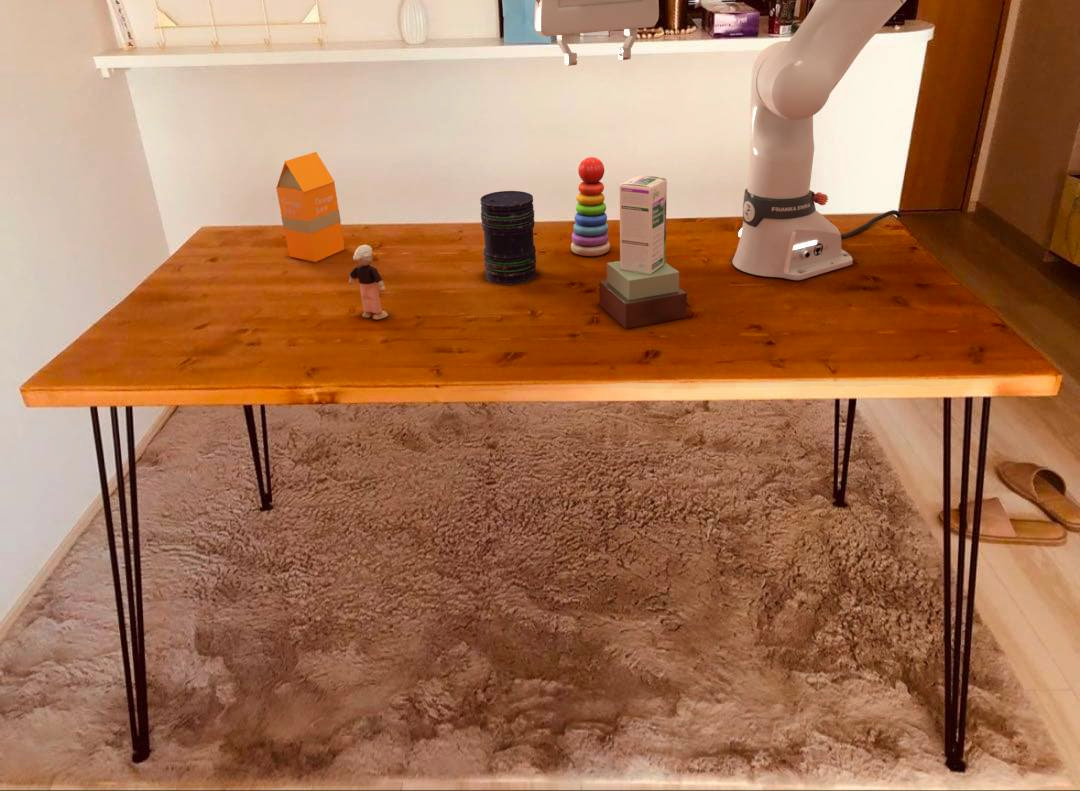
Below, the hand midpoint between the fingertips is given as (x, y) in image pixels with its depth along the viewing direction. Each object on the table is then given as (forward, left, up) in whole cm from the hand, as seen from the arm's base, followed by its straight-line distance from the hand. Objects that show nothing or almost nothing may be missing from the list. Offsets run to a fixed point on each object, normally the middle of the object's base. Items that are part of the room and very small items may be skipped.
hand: (598, 62), depth 137 cm
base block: (-2, +14, -39) cm, 41 cm away
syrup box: (-2, +14, -31) cm, 34 cm away
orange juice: (+46, -42, -39) cm, 73 cm away
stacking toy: (-6, -18, -39) cm, 43 cm away
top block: (-2, +14, -34) cm, 37 cm away
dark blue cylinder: (+13, -12, -39) cm, 43 cm away
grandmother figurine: (+41, -4, -39) cm, 57 cm away
